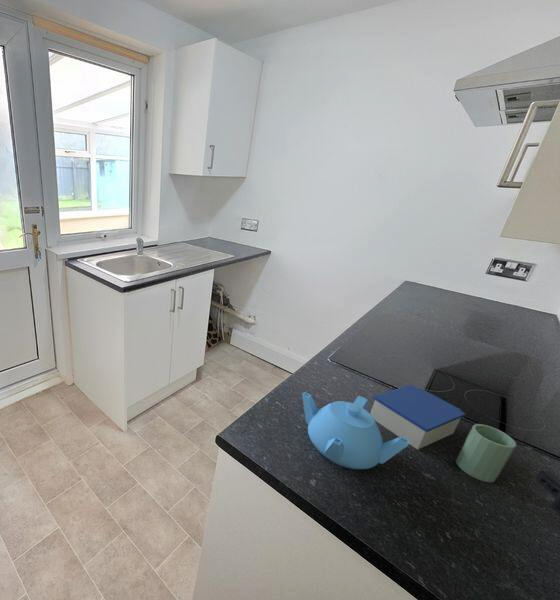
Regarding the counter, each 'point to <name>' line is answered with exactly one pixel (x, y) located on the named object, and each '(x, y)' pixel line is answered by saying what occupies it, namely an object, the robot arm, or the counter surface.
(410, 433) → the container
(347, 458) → the teapot
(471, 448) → the utensil cup
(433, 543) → the counter surface
